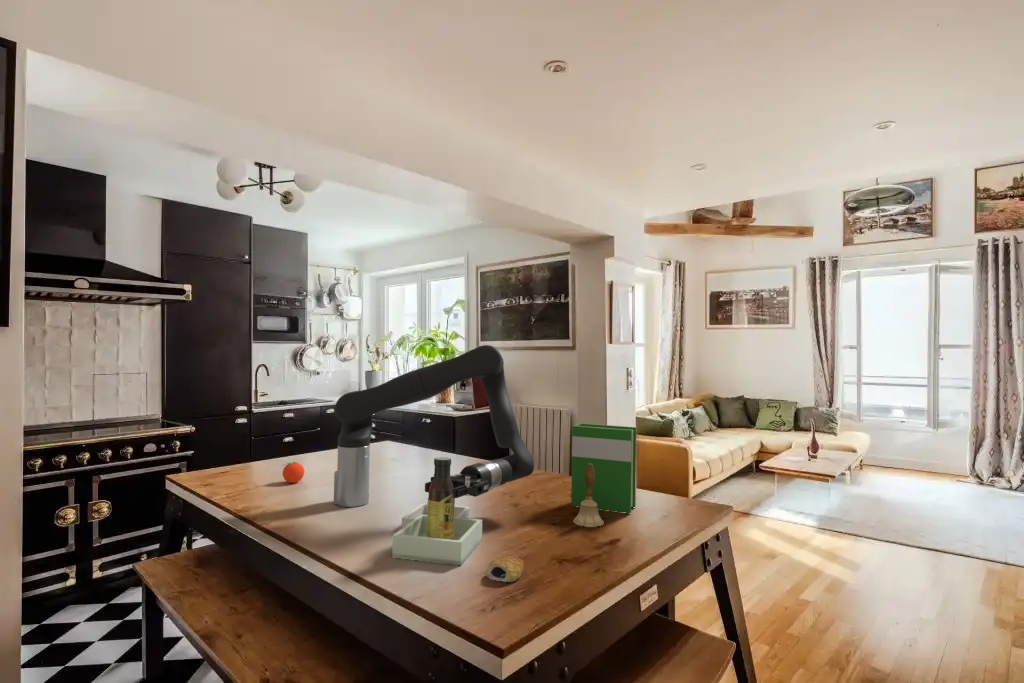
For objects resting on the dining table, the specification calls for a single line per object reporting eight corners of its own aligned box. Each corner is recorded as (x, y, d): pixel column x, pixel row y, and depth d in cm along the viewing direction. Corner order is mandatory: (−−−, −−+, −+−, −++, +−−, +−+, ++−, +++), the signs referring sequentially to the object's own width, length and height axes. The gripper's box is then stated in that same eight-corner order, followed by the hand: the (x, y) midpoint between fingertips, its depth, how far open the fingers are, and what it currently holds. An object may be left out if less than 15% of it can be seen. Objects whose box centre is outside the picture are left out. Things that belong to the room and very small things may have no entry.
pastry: (503, 563, 118) (504, 546, 118) (532, 569, 115) (532, 551, 115) (483, 579, 110) (483, 561, 110) (512, 587, 107) (513, 567, 107)
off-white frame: (401, 529, 139) (401, 517, 139) (422, 513, 152) (422, 502, 152) (453, 534, 135) (453, 522, 136) (470, 517, 149) (470, 506, 149)
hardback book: (635, 507, 161) (636, 427, 162) (630, 514, 155) (631, 430, 155) (578, 500, 169) (579, 423, 169) (571, 506, 162) (572, 426, 162)
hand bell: (585, 516, 153) (586, 459, 153) (610, 523, 147) (610, 464, 147) (566, 522, 147) (567, 463, 147) (591, 530, 141) (592, 468, 141)
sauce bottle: (448, 550, 122) (450, 462, 123) (422, 547, 123) (424, 460, 124) (457, 540, 128) (459, 456, 129) (432, 538, 130) (434, 455, 130)
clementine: (278, 486, 180) (278, 464, 180) (279, 481, 186) (279, 460, 186) (304, 484, 183) (304, 463, 183) (304, 479, 189) (304, 459, 189)
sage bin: (392, 558, 120) (392, 535, 120) (420, 534, 135) (420, 514, 135) (461, 565, 116) (461, 542, 116) (481, 540, 132) (482, 519, 132)
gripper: (459, 459, 143) (417, 470, 130) (504, 466, 135) (463, 479, 122) (459, 487, 143) (416, 501, 130) (503, 496, 135) (463, 512, 122)
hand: (439, 490), depth 126 cm, fingers open, 8 cm apart
